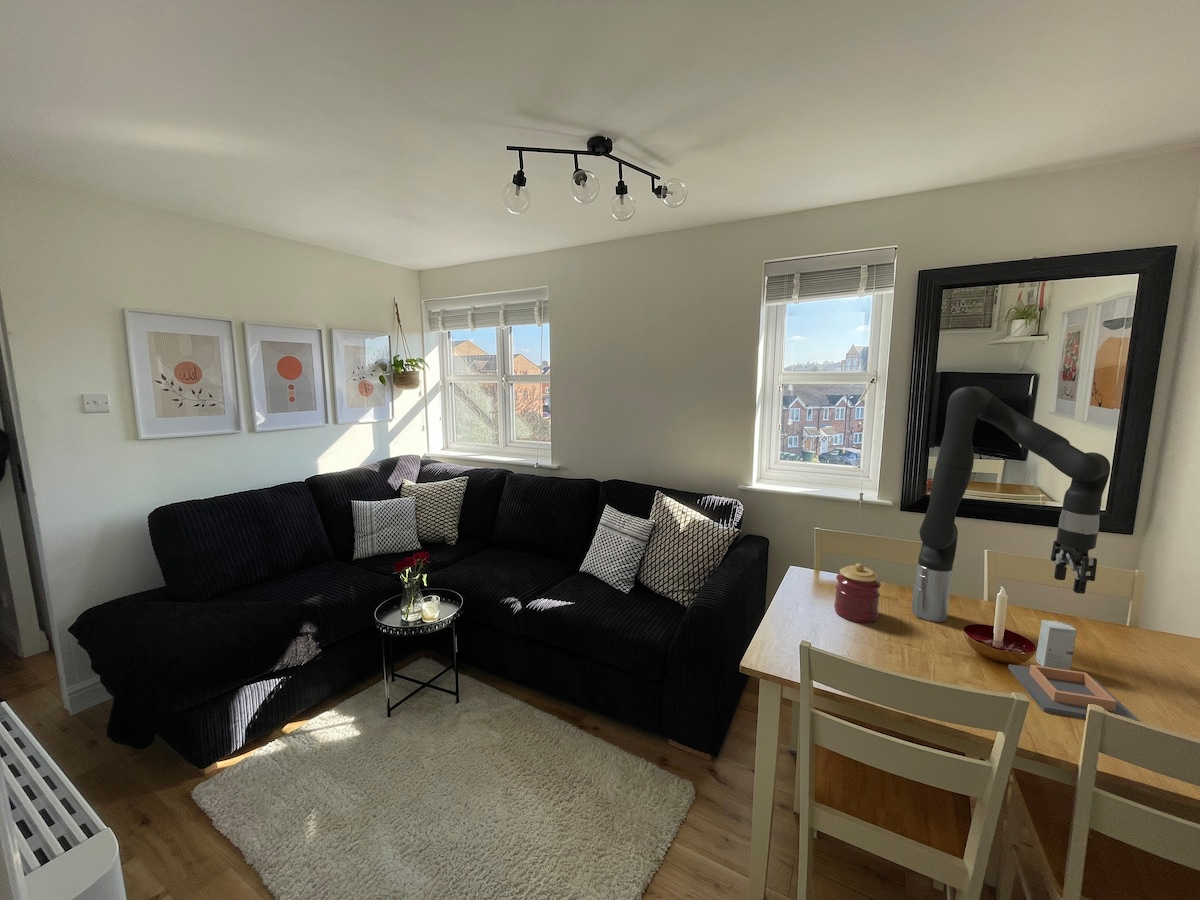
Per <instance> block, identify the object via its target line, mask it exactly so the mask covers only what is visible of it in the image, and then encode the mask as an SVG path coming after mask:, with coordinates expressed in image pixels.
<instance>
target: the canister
mask: <svg viewBox="0 0 1200 900" xmlns="http://www.w3.org/2000/svg"><path fill="white" fill-rule="evenodd" d="M836 580H837V583H836V585H835V598H834V599H835V600H834V605H833V607H834V612H835V613H836V614H837V615H838V616H840V617H841V618H843V619H845V620H849V621H851V622H855V623H864V624H865V623H866V624H867V623H873V622H875V621H876V620H877V619H878V615H879V602H880V601H879V600H880V596H881V593H880V590H879V589H880V588H881V582H880V581H879V576H878V574H877V573H876V572H874V571H873V569H870V568H869V567H866V566H864V565H863V564H862V563H860V562H859V563H855V565H852V564H851V565H847V566H844V567H842V568H840V569H839V573H838V574H837V575H836Z"/></svg>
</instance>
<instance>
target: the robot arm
mask: <svg viewBox="0 0 1200 900" xmlns="http://www.w3.org/2000/svg"><path fill="white" fill-rule="evenodd" d="M946 406H947V408H946V416H945V426H944V431H943V436H942V438H941V442H940V443H941V444H940V448H939V452H938V456H937V460H936V462H935V467H934V471H933V477H932V482H931V483H932V484H931V486H930V487H931V489H930V496H929V503H928V507H927V510H926V513H925V516H924V519H923V521H922V523H921V526H920V529H919V533H918V534H919V537H920V540H921V542H922V543H921V549H920V552H919V555H918V563H917V571H916V582H913V587H912V588H913V591H912V597H911V598H912V599H911V611H912V613H913V614H914V615H915V617H916V618H919V619H922V620H925V621H928V622H932V623H933V622H935V623H943V622H946V621H947V618H948V612H949V611H948V609H949V602H950V592H951V585H952V584H951V583H952V577H953V576H952V575H953V568H954V562H955V558H956V552H957V543H958V535H959V532H958V527H957V525H956V524H955V520H956V515H957V512H958V508H959V505H960V503H961V502H962V500H963V498H964V495H965V493H966V490H967V488H968V486H969V482H970V480H971V476H972V472H973V468H974V462H975V461H974V460H975V457H974V456H975V455H974V448H973V433H974V429H975V425H976V422H977V419H980V420H982V421H984V422H987V423H989V424H992V426H993V425H994V427H997V428H999V429H1000V430H1001V431H1003V432H1004V433H1005V434H1006V435H1008V437H1010V438H1011V439H1012V440H1013V441H1014V442H1016V443H1018V444H1019V445H1020V446H1021V447H1023V448H1024V449H1027V450H1028V451H1030V452H1032V453H1033V454H1035V455H1037V456H1038V457H1041V458H1043V459H1044V460H1046V461H1047V462H1049V464H1051V465H1052V466H1053V467H1054V468H1055V469H1056V470H1058V471H1060V472H1061V473H1062V474H1064V475H1066V476H1067V477H1069V478H1070V479H1071V482H1070V486H1069V488H1067V490H1066V491H1065V493H1064V495H1063V503H1062V509H1061V513H1060V516H1059V518H1058V519H1059V520H1058V527H1057V531H1056V533H1057V534H1056V539H1055V540H1053V545H1052V548H1051V549H1052V550H1051V555H1050V561H1051V562H1053V564H1054V566H1055V567H1054V568H1055V569H1054V575H1053V578H1054V579H1055V580H1057V581H1065V580H1066V576H1067V569H1068V566H1069V567H1070V570H1071V571H1072V572H1073V573H1074V577H1075V578H1074V581H1073V589H1072V591H1073V592H1074V593H1075V594H1080V595H1082V594H1083V595H1084V594H1085V593H1086V589H1087V585H1088V581H1089V582H1090V581H1091V582H1095V581H1096V574H1097V565H1098V559H1097V558H1096V557H1090V556H1089V551H1090V550H1094V549H1095V548H1096V547H1097V541H1098V534H1099V528H1100V513H1101V507H1102V499H1103V493H1104V491H1105V489H1106V487H1107V484H1108V480H1109V477H1110V474H1111V463H1110V461H1109V459H1108V458H1107V456H1105V455H1103V454H1101V453H1098V452H1084V451H1083V450H1080V449H1079V448H1077V447H1075V446H1073V445H1072V444H1071V443H1070V441H1069V440H1068V438H1066V437H1064V436H1062V435H1061V434H1059V433H1056V431H1053V430H1051V429H1049V428H1047V427H1046V426H1044V425H1042V424H1040V423H1037V422H1036V421H1035V420H1032V419H1031V418H1028V417H1026V416H1025V415H1023V414H1022V413H1019V412H1018V411H1017V410H1015V409H1013V408H1011V407H1010V406H1009V405H1007V404H1005V403H1004V402H1003V401H1002V400H1001V399H999V398H998V397H997V396H995V395H994V394H993V393H991V392H990V391H989V390H987V389H986V388H984V387H979V386H962V387H959V388H957V389H956V390H954V391H953V392H952V393H951V394H950V396H949V398H948V401H947V405H946Z"/></svg>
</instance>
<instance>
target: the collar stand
mask: <svg viewBox="0 0 1200 900" xmlns="http://www.w3.org/2000/svg"><path fill="white" fill-rule="evenodd" d="M1007 667H1008V670H1009V671H1010V672H1011V673H1012V675H1013V676H1014V677H1015V679H1016V680H1017V681H1018V682H1019V683H1020V684H1021V686H1022V687H1023V688H1024V690H1025V691H1026V692H1027V694H1029V696H1030V697H1031V698H1032V699H1033V700H1034V702H1035V703H1036V704H1037V705H1038V706H1039V708H1040V709H1041V710H1042V711H1043V712H1044V713H1049V714H1056V715H1060V716H1061V715H1062V716H1065V717H1073V718H1078V717H1079V718H1080V717H1081V718H1080V719H1085V718H1086V713H1087V706H1088V704H1096V705H1099V706H1101V707H1103V708H1104V709H1105V710H1107V711H1108V712H1110V713H1113V714H1116V715H1120V716H1123V717H1126V718H1129V719H1132V720H1135V721H1139V722H1142V721H1141V720H1140V719H1138V717H1136V716H1135V714H1133V713H1132V712H1131V711H1130V710H1129V709H1128V708H1127V707H1126V706H1125V705H1124V704H1122V702H1120V700H1118V699H1117V698H1116V697H1115V696H1114V695H1113V694H1112V693H1111V692H1110V691H1108V689H1106V688H1105V686H1103V685H1102V684H1101V683H1100V682H1099V681H1098V680H1097V679H1095V678H1094V676H1091V675H1089V673H1087V672H1083V671H1076V670H1072V669H1070V670H1064V669H1057V668H1050V667H1044V666H1041V665H1036V664H1035V665H1034V664H1030V665H1029V666H1023V665H1016V664H1010V663H1009V664H1008V666H1007ZM1085 720H1086V719H1085Z"/></svg>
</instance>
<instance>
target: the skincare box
mask: <svg viewBox="0 0 1200 900" xmlns="http://www.w3.org/2000/svg"><path fill="white" fill-rule="evenodd" d="M1077 632H1078V631H1077V629H1076V628H1075V627H1073V626H1072V625H1071V624H1070V623H1067V622H1061V621H1055V620H1048V619H1047V620H1046V619H1041V623H1040V630H1039V635H1038V636H1039V637H1038V642H1037V648H1036V653H1035V654H1036V655H1035V661H1036V662H1037V663H1038V664H1039V666H1044V667H1050V668H1057V669H1064V670H1071V667H1072V661H1073V656H1074V655H1073V654H1074V649H1075V643H1076V638H1077Z"/></svg>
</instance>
